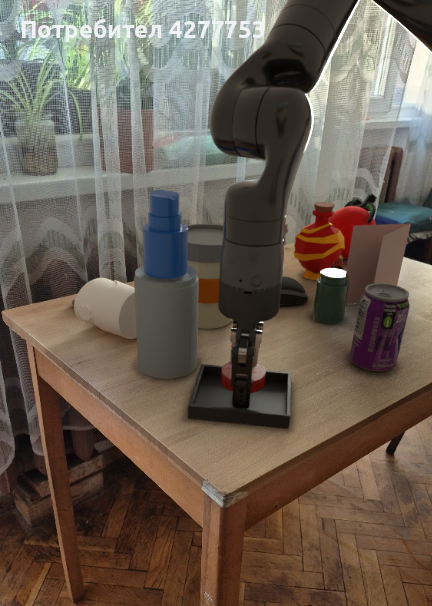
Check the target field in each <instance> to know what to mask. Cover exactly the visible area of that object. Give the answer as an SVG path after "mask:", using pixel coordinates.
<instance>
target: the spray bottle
mask: <svg viewBox="0 0 432 606" xmlns="http://www.w3.org/2000/svg"><path fill="white" fill-rule="evenodd" d="M186 225H187V224H185V223H183V214H182V212H181V211H180V193H179V192H177V191H175V190H174V191H173V190H164V189H155V190H152V191H151V192H150V193H149V211H148V212H147V223H145V224H144V225H143V226H142V227H141V228H142V250H143V251H142V254H143V265H141V266H139V267H137V268H136V270H135V271H134V276H133V285H134V286H133V287H134V290H135V311H136V331H137V338H136V349H137V351H136V352H137V366H138V369H139V370H140V372H141V373H142V374H144V375H146V376H148V377H150V378H155V379H160V380H176V379H179V378H184V377H186V376H188V375H191V374H192V373H193V372H194V371H196V369H197V366H198V339H199V337H198V335H199V334H198V333H199V331H198V330H199V328H198V283H199V279H198V276H197V271H196V269H194V268H193V267H191V266H189V265H188V228H187V226H186Z"/></svg>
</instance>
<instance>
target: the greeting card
mask: <svg viewBox="0 0 432 606" xmlns="http://www.w3.org/2000/svg"><path fill="white" fill-rule="evenodd" d="M410 229H411V223H391V224H389V223H388V224H376V225H364V226H354V227H353V233H352V239H351V245H350V251H349V257H348V263H346V270H345V271H346V272H347V273H348V278H347V280H348V281H349V282H350V284H349V290H348V296H347V302H346V305H355V304H356V305H357V304H358V305H359V301H360V298H361V296H362V295H363V294H364V292H365V287H366V286H367V285H370V284H375V283H385V284H392V285H396V286H398V283H399V279H400V275H401V270H402V265H403V261H404V257H405V252H406V247H407V243H408V239H409V234H410Z"/></svg>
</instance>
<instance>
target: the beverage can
mask: <svg viewBox="0 0 432 606" xmlns="http://www.w3.org/2000/svg"><path fill="white" fill-rule="evenodd" d="M409 297H410V292H409V291H408V290H407V289H406V288H404V287H401V286H400V285H397V286H396V285H392V284H385V283H375V284H370V285H367V286H366V287H365V292H364V294H363V295H362V296H361V298H360V301H359V303H358V307H357V312H356V318H355V322H354V327H353V334H352V339H351V345H350V351H349V360H350V361H351V362H352V363H353V364H354V365H356V366H357V367H359V368H361V369H362V370H365V371H369V372H384V371H390V370H392V369H394V368H395V367H396V365H397V362H398V358H399V354H400V351H401V346H402V341H403V338H404V334H405V333H404V332H405V328H406V324H407V320H408V316H409V311H410V307H411V306H410V301H409Z"/></svg>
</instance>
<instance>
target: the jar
mask: <svg viewBox="0 0 432 606" xmlns="http://www.w3.org/2000/svg"><path fill="white" fill-rule="evenodd" d="M320 274H321V277H319V278H318V279H317V280H316V286H315V291H314V292H315V293H314V300H313V307H312V315H311V318H312V319H313V320H314V321H315V322H317V323H321V324H323V325H324V324H325V325H338V324H341V323H342V322H343V321H344V318H345V313H346V306H347V304H346V302H347V296H348V290H349V284H350V282H349V281H348V280H347V278H348V273H347V272H346V270H344V269H343V270H340V269H335V267H333V268H332V267H331V268H329V269H324V270H322V271H321V272H320Z"/></svg>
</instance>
